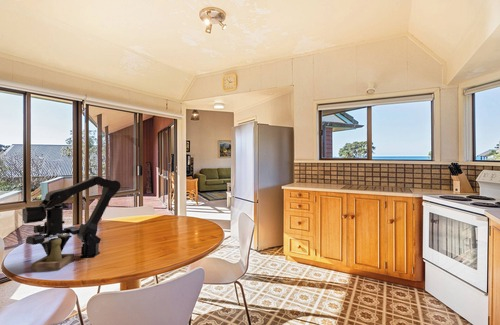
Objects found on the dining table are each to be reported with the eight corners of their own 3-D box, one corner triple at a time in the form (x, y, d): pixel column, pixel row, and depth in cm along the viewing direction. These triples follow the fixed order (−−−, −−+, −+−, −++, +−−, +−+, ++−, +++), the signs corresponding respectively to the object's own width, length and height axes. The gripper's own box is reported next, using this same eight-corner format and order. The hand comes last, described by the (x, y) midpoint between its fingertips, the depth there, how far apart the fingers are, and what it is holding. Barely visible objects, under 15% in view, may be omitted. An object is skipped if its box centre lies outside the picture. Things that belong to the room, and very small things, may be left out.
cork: (60, 259, 114) (60, 235, 114) (64, 262, 110) (64, 238, 111) (43, 263, 110) (44, 238, 110) (47, 267, 106) (47, 241, 106)
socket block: (74, 259, 116) (74, 253, 116) (59, 269, 105) (59, 262, 105) (48, 260, 115) (48, 254, 115) (31, 271, 104) (31, 264, 104)
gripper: (65, 213, 122) (65, 245, 122) (18, 222, 105) (18, 258, 105) (80, 215, 118) (80, 248, 118) (34, 224, 100) (33, 262, 100)
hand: (54, 254), depth 110 cm, fingers closed on cork, 4 cm apart
